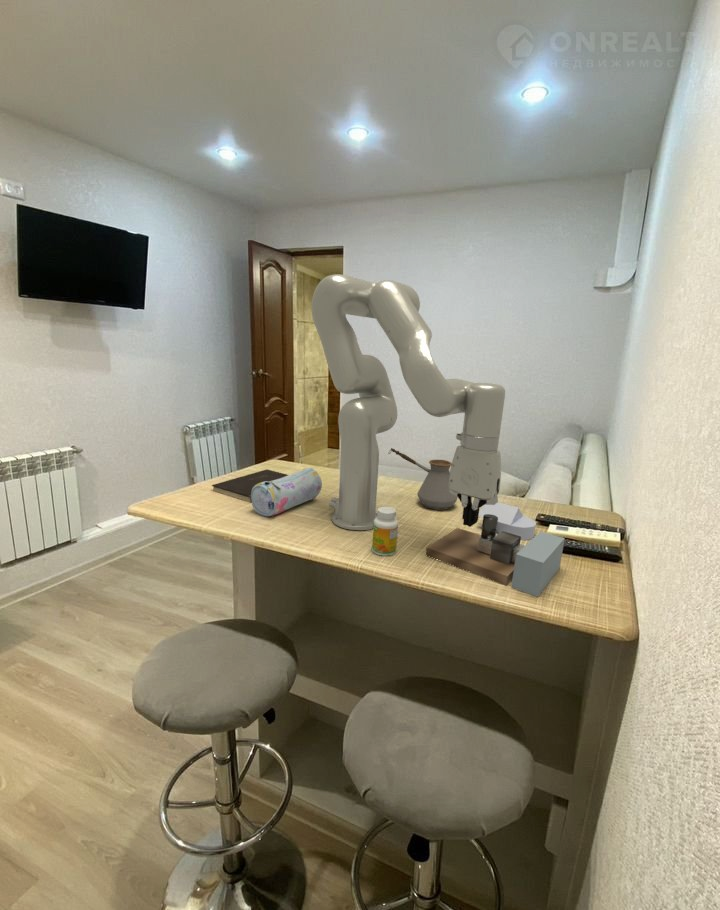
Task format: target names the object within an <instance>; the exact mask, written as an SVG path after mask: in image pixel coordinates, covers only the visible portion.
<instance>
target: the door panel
mask: <svg viewBox="0 0 720 910" xmlns="http://www.w3.org/2000/svg"><path fill="white" fill-rule="evenodd" d="M480 536H481V534H479V533H475V532H472V531H468V530H466V529H462V528H460V527H456V528H454V530H452V531H450V532H448V533H447V534H445V535H444V536H441V537H440V538H439V539H437V540H436V541H434V542H433V543H431V544H430V545H428V546H427V547H426V549H425V556H426V555H427V556H426V557H428V556H430V557H433V558H435V559H434V560H436V559H438V560H441V561H443V562H442V563H444V562H445V563H444V564H447V563H448V564H447V565H449V564H451V565H450V566H452V565H454V566H453V567H455V566H456V567H455V568H457V567H459V568H458V569H460V568H461V569H460V570H463V569H464V570H463V571H466V570H467V571H466V572H468V571H470V572H469V573H471V572H472V574H474V573H475V574H474V575H476V574H478V575H477V576H479V575H480V577H482V576H483V578H485V579H487V578H489V579H488V580H490V579H491V580H490V581H493V580H494V581H493V582H495V581H496V582H495V583H498V584H501V585H503V586H507V585H508V584H510V582H512V579H513V572H514V565H515V563H514V562H511V556H512V549H513V547H514V546H515V545H516V544H517V543H518V544H521V541H522V540H521V536H518V535H514V534H511V533H507V532H504V531H502V532H501V533H498V534H496V537H494V538H493V539H492V547H491V554H487V553H484V552H481V551H478V550H477V547H478V539H479V537H480ZM430 557H429V558H430ZM433 558H432V559H433ZM438 560H437V561H438ZM441 561H440V562H441Z"/></svg>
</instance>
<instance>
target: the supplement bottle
mask: <svg viewBox="0 0 720 910" xmlns="http://www.w3.org/2000/svg"><path fill="white" fill-rule="evenodd" d="M376 513H377V516H378V517H376V518H375V519H374V524H373V529H372V539H371V541H372V542H371V543H372V544H371V550H372V552H373V553H374V554H375V555H378V556H381V555H382V557H389V556H388V555H390V556H392V555H395V554H396V552H397V546H398V545H397V543H398V532H399V531H398V529H399V521H398V520H397V518H396V516H397V509H395V508H394V507H390V506H381V507H378V509H377V510H376Z"/></svg>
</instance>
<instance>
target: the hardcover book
mask: <svg viewBox="0 0 720 910" xmlns="http://www.w3.org/2000/svg"><path fill="white" fill-rule="evenodd" d="M288 475H289V474H287V473H282V472H279V471H275V470H270V469H267V468H266V469H263V470H260V471H257V472H252V473H249V474H246V475H243V476H239V477H235V478H231V479H228V480H225V481H222V482H218V483H214V484H212V485H211V487H213V488H212V490H213V492H216V493H219V494H222V495H225V496H229V497H232V498H235V499H238V500H241V501H245V502H247V503H250V504H252V500H251V492H252V488H253V487H254V486H255V485H256V484H258V483H261V482H265V481H268V482H269V481H273V480H276V479H280V478H282V477H285V476H288Z"/></svg>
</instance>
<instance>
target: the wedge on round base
mask: <svg viewBox="0 0 720 910" xmlns="http://www.w3.org/2000/svg"><path fill="white" fill-rule="evenodd" d="M480 508H481V509H479V516H478V517H479V518H483V516H484V515H485V514H491V515H495V516H497V517H498V522H497V530H496V533H498V534H499V533H501V532H502V531H504V532H507V533H511V534H514V535H518V536H521V540H520V541H531V540H532V539H533V537H535V533H536V526H537V522H536V521H535V520H534V519H533V518H531V517H528V516H525V515H523V513H522V512H521V510H520V507H517V506H515V505H514V506H513V505H511V504H510V505H509V504H505V503H502V502H498V503H497V504H495V505H483V506H482V507H480Z"/></svg>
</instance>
